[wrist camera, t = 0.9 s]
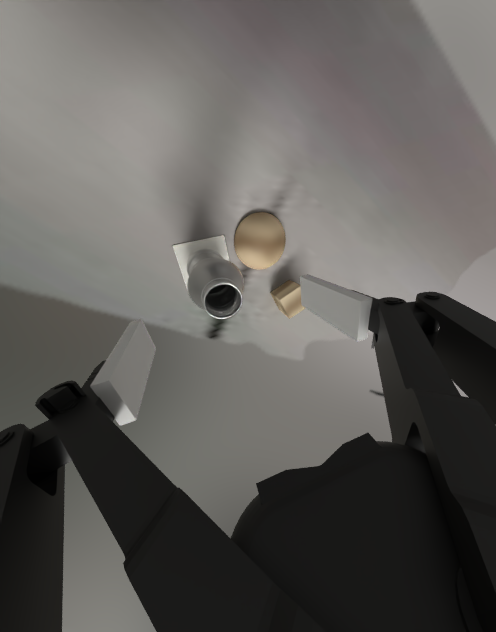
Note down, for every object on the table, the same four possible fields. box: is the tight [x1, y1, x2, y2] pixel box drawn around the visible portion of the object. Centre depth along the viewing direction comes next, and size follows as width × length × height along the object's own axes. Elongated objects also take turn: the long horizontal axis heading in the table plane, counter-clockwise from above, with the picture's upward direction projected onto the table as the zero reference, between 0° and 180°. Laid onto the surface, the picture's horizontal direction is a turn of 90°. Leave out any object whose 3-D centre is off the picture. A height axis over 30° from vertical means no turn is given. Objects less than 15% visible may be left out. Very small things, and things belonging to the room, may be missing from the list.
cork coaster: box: [234, 212, 285, 270], centre depth 36 cm, size 10×10×1 cm
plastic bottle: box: [187, 249, 244, 319], centre depth 26 cm, size 6×7×20 cm
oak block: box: [271, 280, 305, 319], centre depth 40 cm, size 5×5×5 cm
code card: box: [173, 235, 229, 290], centre depth 35 cm, size 9×9×1 cm
